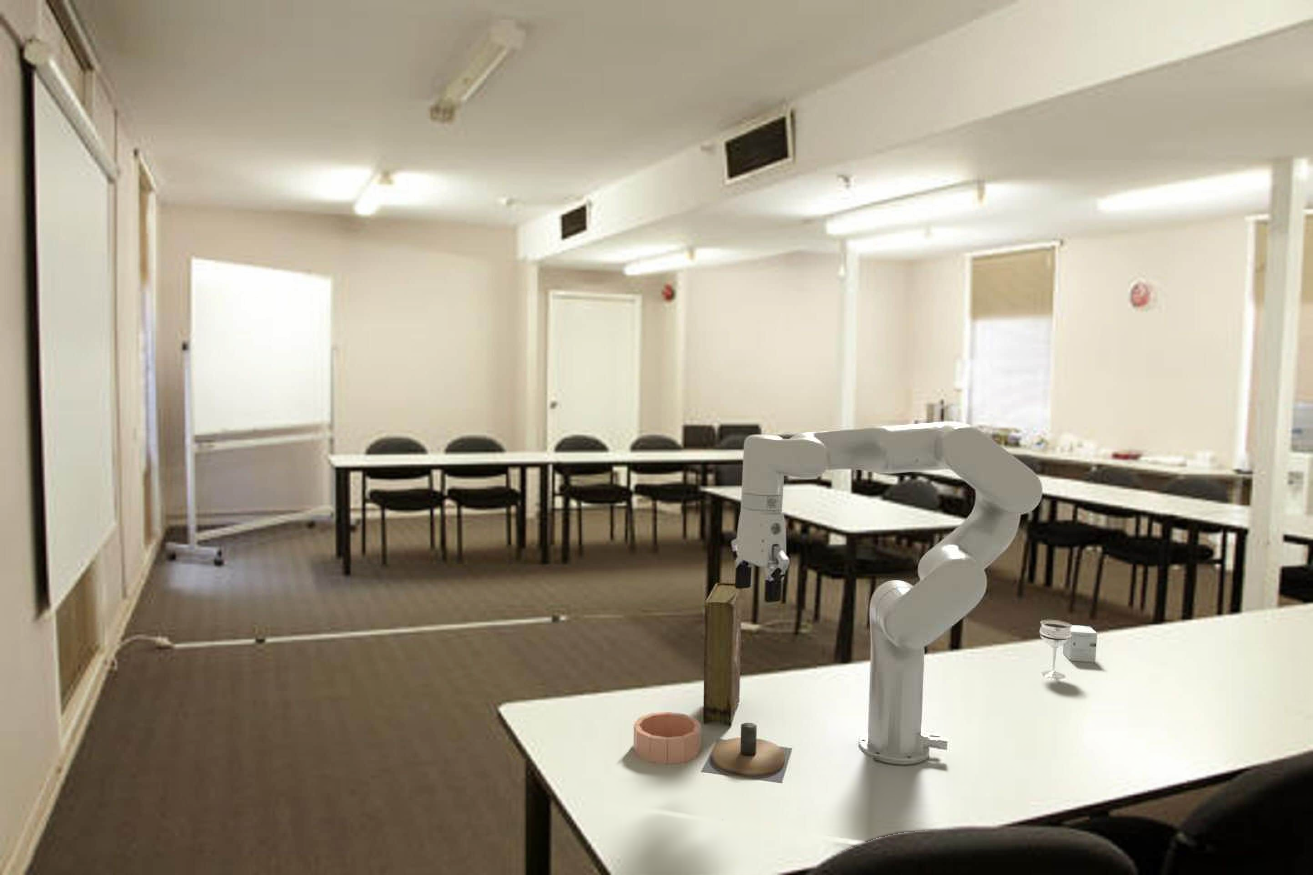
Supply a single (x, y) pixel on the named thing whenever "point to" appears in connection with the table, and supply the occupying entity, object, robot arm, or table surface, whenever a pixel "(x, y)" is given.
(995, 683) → the table surface
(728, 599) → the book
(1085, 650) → the skincare box
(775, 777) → the mat
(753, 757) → the lid
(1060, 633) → the wineglass
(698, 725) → the bowl
